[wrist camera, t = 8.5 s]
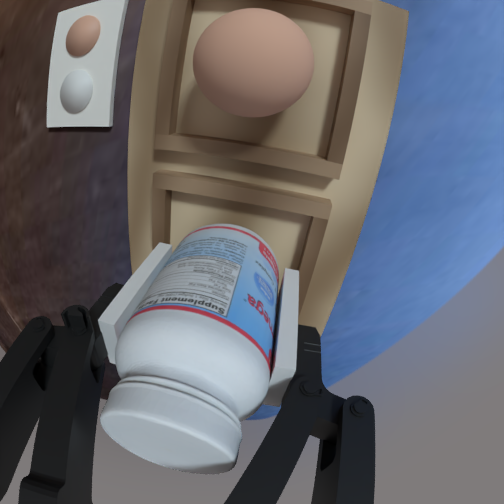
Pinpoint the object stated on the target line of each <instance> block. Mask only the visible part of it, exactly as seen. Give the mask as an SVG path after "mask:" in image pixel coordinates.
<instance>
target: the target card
mask: <svg viewBox="0 0 504 504" xmlns="http://www.w3.org/2000/svg"><path fill="white" fill-rule="evenodd" d="M128 1H129V0H101V1H97V2H93V3H89V4H85V5H82V6H78V7H75V8H71V9H68V10H65V11H62V12H59V13H58V18H57V23H56V28H55V34H54V40H53V46H52V54H51V62H50V71H49V82H48V98H47V127H81V126H94V127H110V126H112V125H113V107H114V94H115V83H116V73H117V65H118V57H119V50H120V43H121V37H122V31H123V25H124V20H125V15H126V10H127V5H128Z"/></svg>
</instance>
